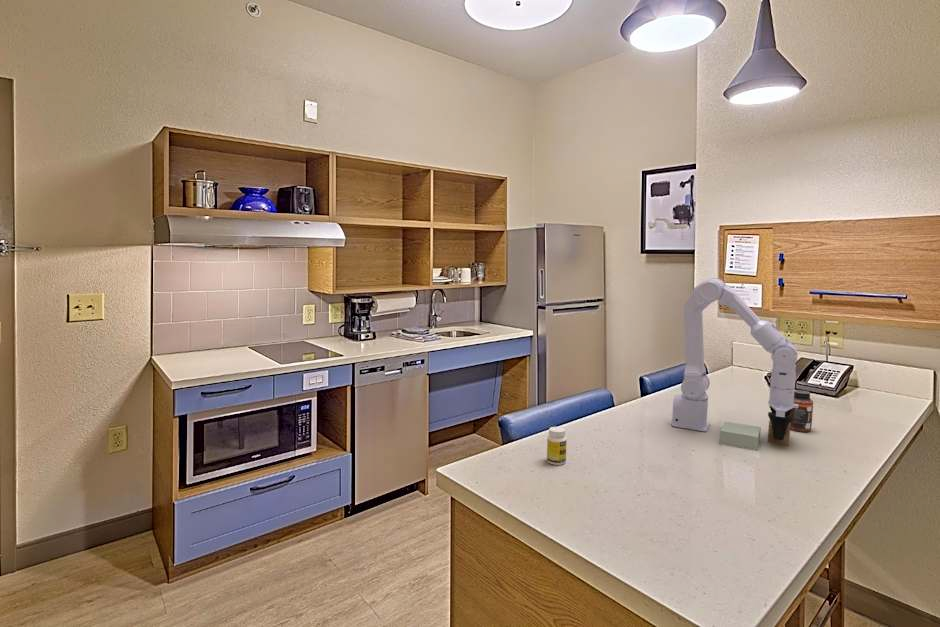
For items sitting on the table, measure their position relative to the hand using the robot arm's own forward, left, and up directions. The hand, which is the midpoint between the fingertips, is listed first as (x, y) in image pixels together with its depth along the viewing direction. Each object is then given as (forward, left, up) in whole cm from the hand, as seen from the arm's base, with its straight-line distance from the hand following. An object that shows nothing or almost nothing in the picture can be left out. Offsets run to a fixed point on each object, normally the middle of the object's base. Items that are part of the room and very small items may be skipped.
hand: (778, 435), depth 146 cm
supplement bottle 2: (+5, +14, -2) cm, 15 cm away
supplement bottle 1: (-47, -44, -2) cm, 65 cm away
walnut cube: (0, 0, -2) cm, 2 cm away
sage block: (-9, -6, -2) cm, 11 cm away
